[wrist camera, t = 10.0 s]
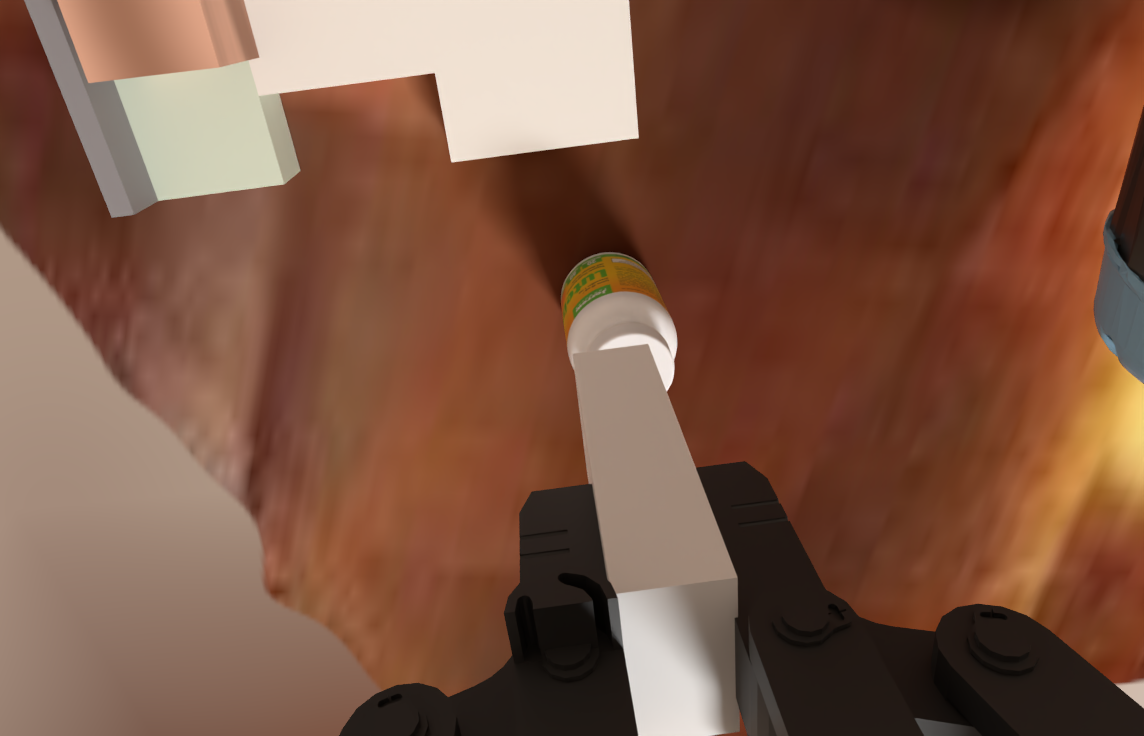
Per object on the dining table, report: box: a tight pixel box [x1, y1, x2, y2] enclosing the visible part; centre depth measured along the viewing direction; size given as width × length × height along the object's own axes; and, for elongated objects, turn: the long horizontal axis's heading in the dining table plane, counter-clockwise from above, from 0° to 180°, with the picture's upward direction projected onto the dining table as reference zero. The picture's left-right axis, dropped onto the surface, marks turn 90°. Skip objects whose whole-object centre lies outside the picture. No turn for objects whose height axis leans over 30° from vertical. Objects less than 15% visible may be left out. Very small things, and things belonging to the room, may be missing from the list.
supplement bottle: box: [561, 252, 677, 391], centre depth 38 cm, size 5×5×10 cm
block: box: [57, 0, 260, 83], centre depth 29 cm, size 5×5×5 cm
